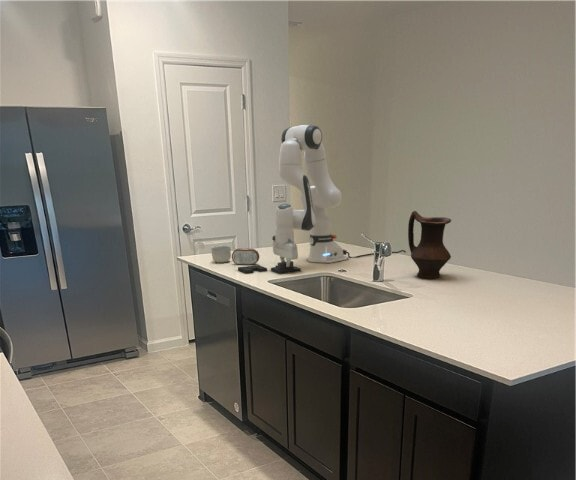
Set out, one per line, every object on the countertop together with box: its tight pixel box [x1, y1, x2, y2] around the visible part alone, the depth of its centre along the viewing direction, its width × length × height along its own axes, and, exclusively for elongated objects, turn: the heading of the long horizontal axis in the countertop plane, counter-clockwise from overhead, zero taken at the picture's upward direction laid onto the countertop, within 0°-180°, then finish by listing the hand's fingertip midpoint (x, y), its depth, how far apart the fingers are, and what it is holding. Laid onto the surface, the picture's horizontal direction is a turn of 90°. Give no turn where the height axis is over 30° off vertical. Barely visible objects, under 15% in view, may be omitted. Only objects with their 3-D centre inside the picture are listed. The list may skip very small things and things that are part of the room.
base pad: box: [237, 264, 268, 275], centre depth 283 cm, size 12×10×2 cm
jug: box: [407, 210, 452, 280], centre depth 258 cm, size 21×18×30 cm
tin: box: [231, 248, 260, 266], centre depth 297 cm, size 15×3×8 cm, turn 84°
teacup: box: [210, 245, 232, 264], centre depth 306 cm, size 14×11×8 cm
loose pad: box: [270, 260, 301, 275], centre depth 281 cm, size 12×13×4 cm
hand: (285, 265), depth 280 cm, fingers open, 3 cm apart
